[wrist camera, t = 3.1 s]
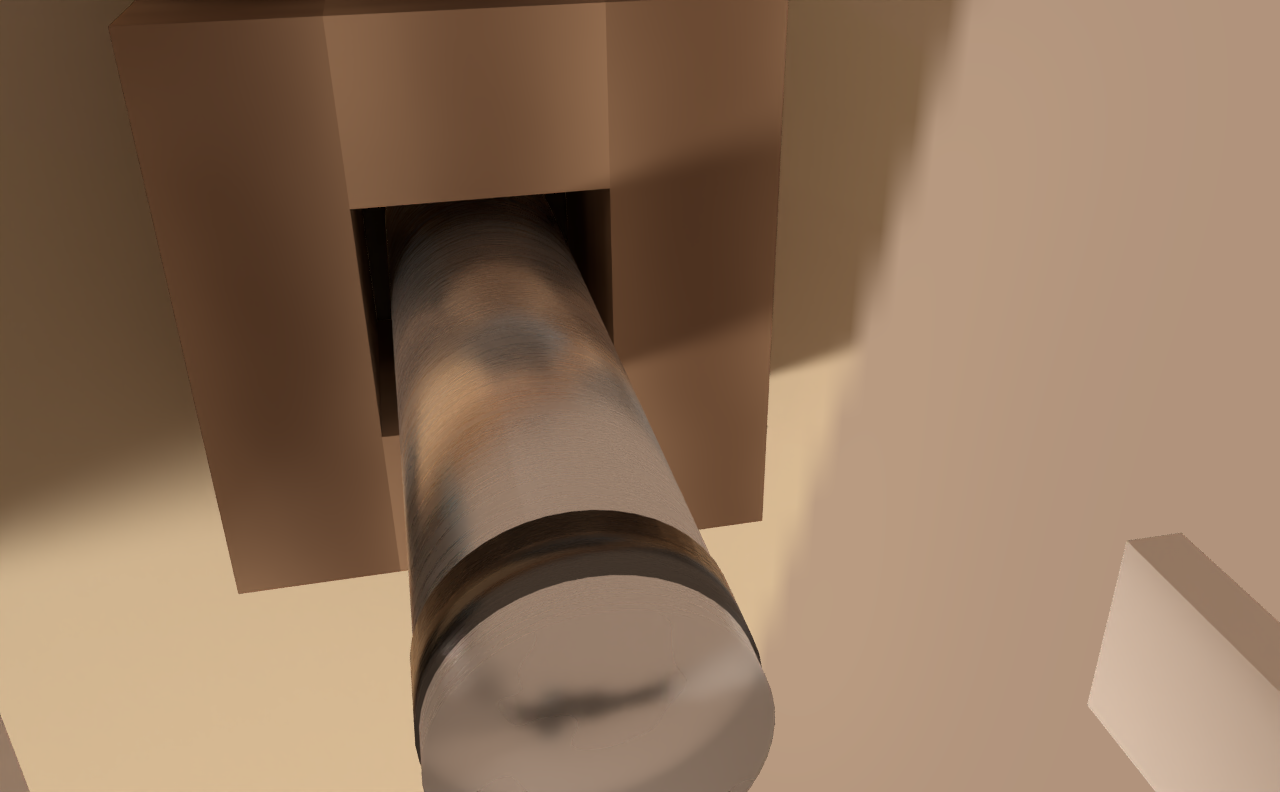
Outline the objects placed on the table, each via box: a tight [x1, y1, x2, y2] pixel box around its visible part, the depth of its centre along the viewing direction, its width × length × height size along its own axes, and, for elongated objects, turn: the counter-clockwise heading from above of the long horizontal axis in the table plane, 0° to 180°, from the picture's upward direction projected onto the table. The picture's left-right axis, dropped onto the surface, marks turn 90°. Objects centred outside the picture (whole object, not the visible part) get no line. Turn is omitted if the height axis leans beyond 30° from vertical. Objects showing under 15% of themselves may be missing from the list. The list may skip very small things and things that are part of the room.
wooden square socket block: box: [108, 0, 788, 594], centre depth 25 cm, size 12×12×6 cm
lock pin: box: [385, 194, 775, 792], centre depth 20 cm, size 4×4×18 cm
